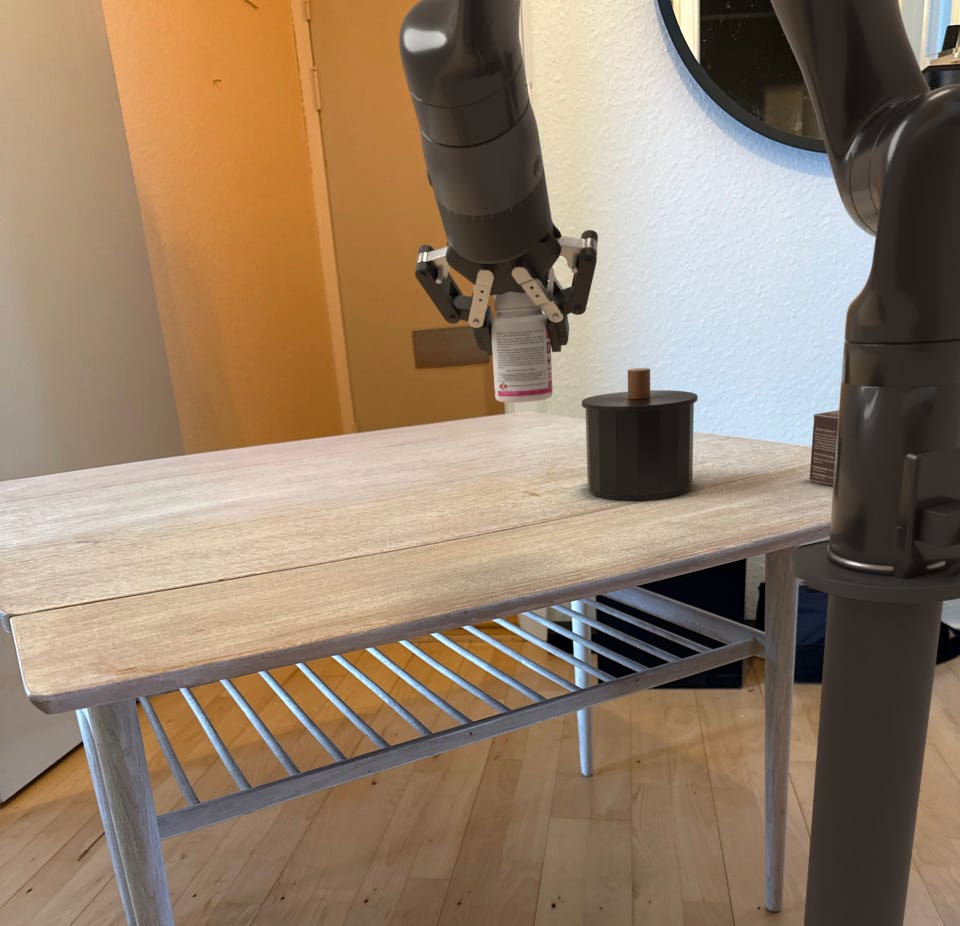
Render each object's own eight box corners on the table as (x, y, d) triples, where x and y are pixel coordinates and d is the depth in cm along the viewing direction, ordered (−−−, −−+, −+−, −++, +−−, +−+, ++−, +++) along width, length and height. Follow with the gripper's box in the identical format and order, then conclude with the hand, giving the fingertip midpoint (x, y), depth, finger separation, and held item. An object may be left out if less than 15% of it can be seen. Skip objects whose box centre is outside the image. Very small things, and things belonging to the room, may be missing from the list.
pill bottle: (562, 398, 74) (558, 287, 71) (508, 405, 73) (502, 292, 70) (538, 394, 78) (533, 289, 75) (486, 400, 77) (479, 293, 74)
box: (849, 473, 103) (854, 406, 100) (892, 481, 98) (899, 411, 95) (807, 481, 101) (812, 413, 98) (850, 490, 96) (855, 419, 93)
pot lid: (721, 406, 97) (722, 366, 95) (620, 421, 92) (619, 379, 91) (655, 397, 107) (655, 360, 106) (561, 409, 103) (560, 371, 102)
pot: (712, 489, 100) (714, 401, 97) (622, 506, 96) (621, 414, 93) (654, 473, 110) (654, 392, 107) (570, 487, 106) (567, 403, 103)
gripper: (597, 118, 61) (613, 304, 76) (390, 141, 64) (446, 316, 79) (592, 201, 58) (610, 378, 73) (375, 221, 61) (436, 387, 76)
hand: (524, 345), depth 76 cm, fingers closed on pill bottle, 4 cm apart
